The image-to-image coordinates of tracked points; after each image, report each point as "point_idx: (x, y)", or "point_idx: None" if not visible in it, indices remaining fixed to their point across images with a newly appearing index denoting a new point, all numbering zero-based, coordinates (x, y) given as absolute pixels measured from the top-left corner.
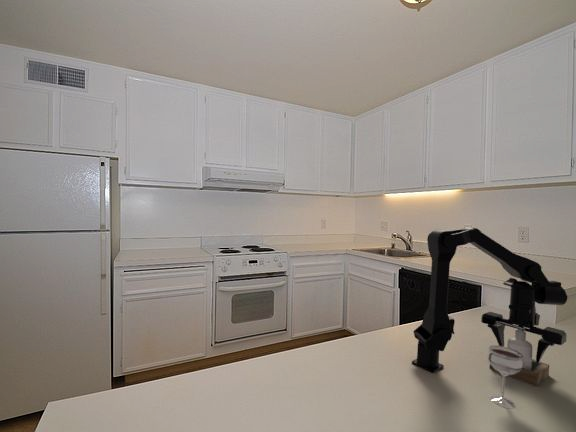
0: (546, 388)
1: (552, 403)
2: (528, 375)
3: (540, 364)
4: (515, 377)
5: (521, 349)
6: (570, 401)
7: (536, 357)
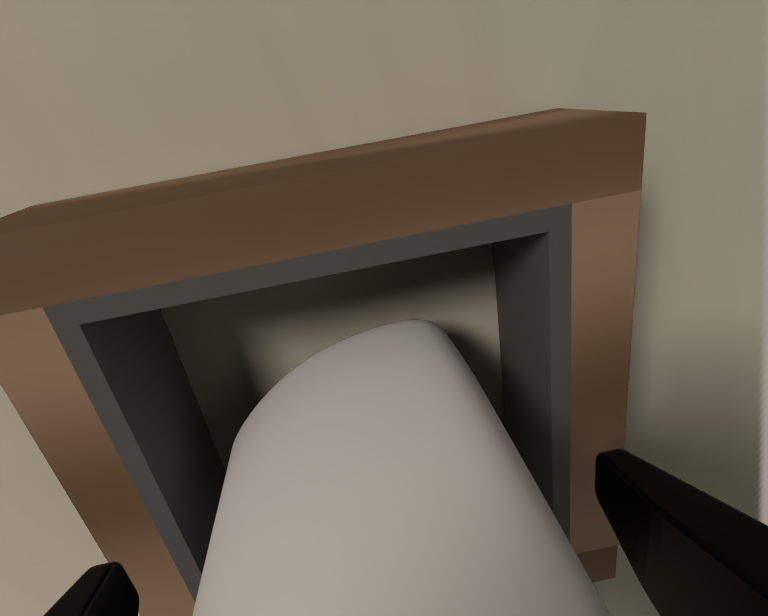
0: None
1: None
2: None
3: (555, 258)
4: None
5: None
6: (756, 463)
7: (653, 596)
